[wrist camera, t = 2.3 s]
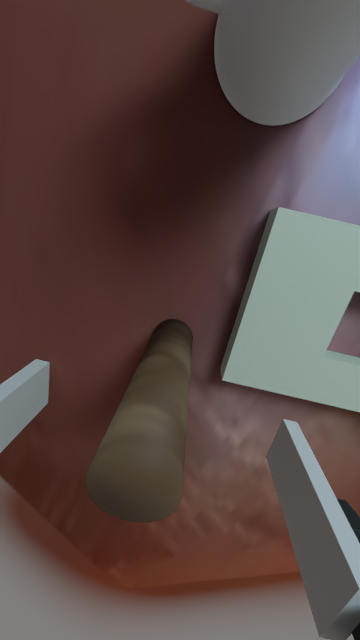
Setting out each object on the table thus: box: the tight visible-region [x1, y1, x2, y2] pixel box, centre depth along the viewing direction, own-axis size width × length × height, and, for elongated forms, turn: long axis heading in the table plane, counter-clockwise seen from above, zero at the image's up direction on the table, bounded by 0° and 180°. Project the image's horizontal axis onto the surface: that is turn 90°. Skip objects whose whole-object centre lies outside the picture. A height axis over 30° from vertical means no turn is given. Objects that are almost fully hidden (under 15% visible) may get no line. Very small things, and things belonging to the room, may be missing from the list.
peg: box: [85, 319, 193, 522], centre depth 15 cm, size 4×4×14 cm
